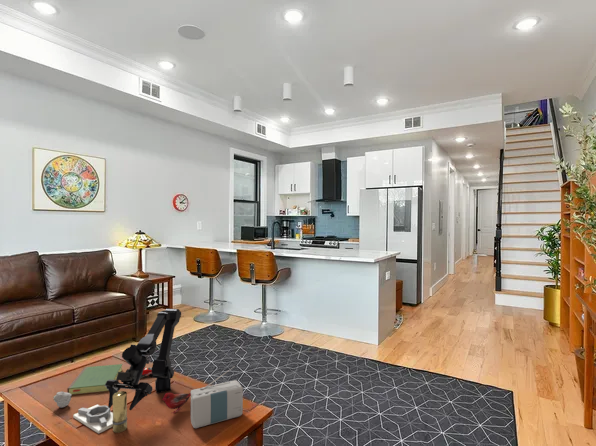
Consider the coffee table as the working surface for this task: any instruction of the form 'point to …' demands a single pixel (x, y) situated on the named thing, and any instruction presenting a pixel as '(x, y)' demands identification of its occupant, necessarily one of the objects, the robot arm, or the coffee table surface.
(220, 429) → the coffee table surface
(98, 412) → the coupling stand
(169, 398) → the decorative bird figurine
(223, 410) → the stereo radio cassette player
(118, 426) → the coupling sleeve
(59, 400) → the grey rounded lump
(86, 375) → the hardcover book
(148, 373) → the race car
